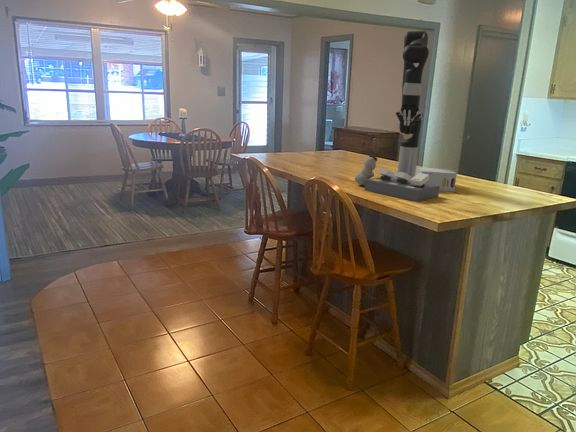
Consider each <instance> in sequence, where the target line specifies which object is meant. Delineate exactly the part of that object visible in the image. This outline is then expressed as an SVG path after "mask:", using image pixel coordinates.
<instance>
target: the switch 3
mask: <svg viewBox="0 0 576 432" xmlns="http://www.w3.org/2000/svg"><path fill="white" fill-rule="evenodd" d="M410 180H411V184H412V185H417V186H422V185H423V184H424V183H425V182H427V181H428V180H429V174H423V173H418V174H417V175H416V174H415V176H414V177H413V178H412V179H410Z"/></svg>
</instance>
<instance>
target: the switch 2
mask: <svg viewBox="0 0 576 432" xmlns="http://www.w3.org/2000/svg"><path fill="white" fill-rule="evenodd" d="M393 173H394V177H396V178H399V179H402V180H407V181H411V180H410V179H411V177H412V176H410V175H408V174H406V173H404V172H398V170H394V172H393Z"/></svg>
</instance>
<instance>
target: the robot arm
mask: <svg viewBox="0 0 576 432" xmlns="http://www.w3.org/2000/svg"><path fill="white" fill-rule="evenodd" d="M428 43H429V35H428V32H427V31H425V30H417V31H416V30H409V31H406V32H405V34H404V38H403V52H402V60H403V71H402V72H403V74H402V85H401V108H400V110H399V111H396V112H395V115H396V117H397V119H398V121H399V132H400V134H404V135H411V137H409V138H407V139H403V140H401V141H400V144H399V145H400V147H399V153H398V154H399V155H398V164H397V171H398V172H404V173H406V174H408V175H410V176H412V177H411V179H412V178H413V177H414V176H416V169H417V163H418V161H417V159H418V158H417V157H418V150H419V148H418V147H419V138H420V132H421V127H422V118H423V116H424V114H423V113H421V112H420V109H419V106H420V99H421V91H422V78H423V77H422V76H423V72H424V68H425V65H426V63H427V60H428V57H429V53H430V51H429V48H428ZM415 64H418V65H417V66H416V65H415Z"/></svg>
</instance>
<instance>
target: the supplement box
mask: <svg viewBox="0 0 576 432" xmlns="http://www.w3.org/2000/svg"><path fill="white" fill-rule="evenodd" d="M418 173H423V174H429V180H428V181H427V182H425V183H428V184H433V185H438V186H440V188H439V192H440V191H441V192H442V191H443V192H455V190H456V189H455V188H456V181H457V174H458V173H457V172H456V171H454V170H453V169H451V168H436V167H424V166H423V167H421V166H416V173H415V176H416V175H417V174H418Z"/></svg>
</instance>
